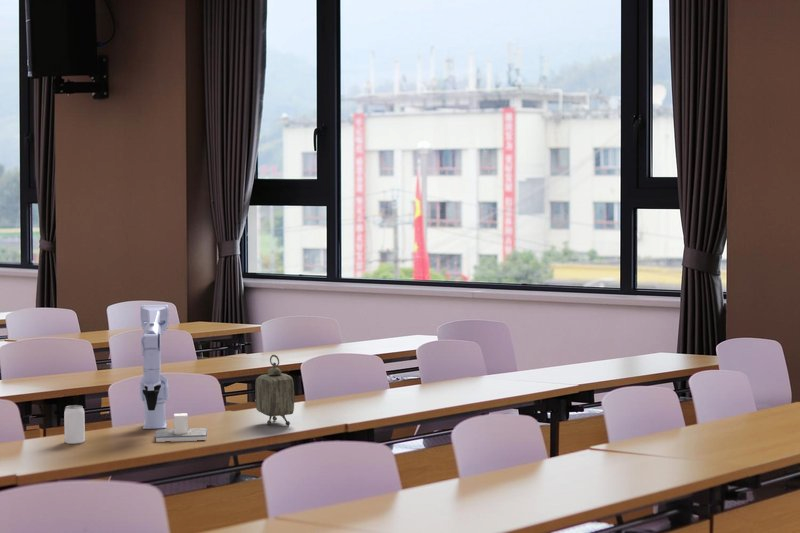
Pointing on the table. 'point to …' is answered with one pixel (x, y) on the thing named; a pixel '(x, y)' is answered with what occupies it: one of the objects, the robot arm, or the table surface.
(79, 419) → the can
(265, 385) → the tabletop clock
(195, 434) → the notebook
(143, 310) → the robot arm
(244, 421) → the table surface
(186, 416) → the block
